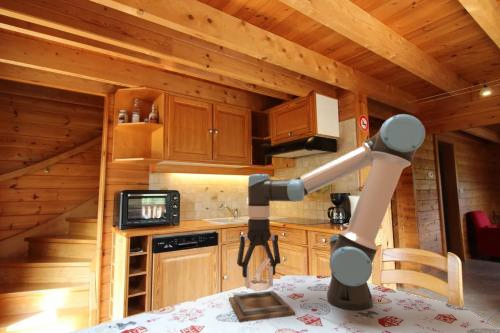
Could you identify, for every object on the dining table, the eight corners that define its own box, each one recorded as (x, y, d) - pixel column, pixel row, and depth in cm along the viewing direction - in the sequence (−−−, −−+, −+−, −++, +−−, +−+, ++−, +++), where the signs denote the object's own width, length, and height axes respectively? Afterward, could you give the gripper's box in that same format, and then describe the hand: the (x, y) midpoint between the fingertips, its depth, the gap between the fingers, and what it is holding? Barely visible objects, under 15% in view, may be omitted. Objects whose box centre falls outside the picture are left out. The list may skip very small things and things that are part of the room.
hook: (285, 274, 89) (268, 262, 88) (264, 303, 90) (246, 292, 89) (280, 263, 97) (265, 253, 96) (260, 290, 97) (245, 280, 96)
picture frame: (275, 295, 103) (275, 289, 103) (295, 315, 86) (295, 307, 86) (228, 300, 98) (228, 293, 99) (239, 322, 81) (239, 314, 81)
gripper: (282, 216, 101) (283, 280, 99) (228, 217, 96) (227, 284, 94) (290, 218, 94) (291, 287, 92) (232, 219, 89) (231, 292, 87)
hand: (259, 285), depth 93 cm, fingers closed on hook, 8 cm apart
